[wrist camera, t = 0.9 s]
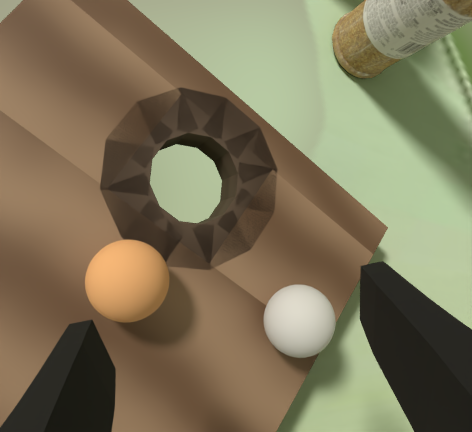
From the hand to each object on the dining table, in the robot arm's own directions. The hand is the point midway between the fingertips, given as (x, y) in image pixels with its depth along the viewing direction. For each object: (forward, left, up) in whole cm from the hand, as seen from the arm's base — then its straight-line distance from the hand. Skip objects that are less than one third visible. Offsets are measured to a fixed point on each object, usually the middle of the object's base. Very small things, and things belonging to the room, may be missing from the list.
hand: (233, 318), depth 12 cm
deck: (+1, +2, -12) cm, 13 cm away
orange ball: (0, +2, -8) cm, 8 cm away
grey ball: (+3, -6, -8) cm, 11 cm away
